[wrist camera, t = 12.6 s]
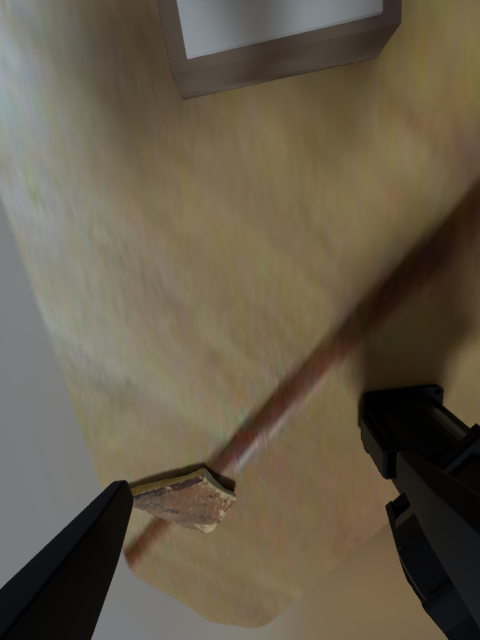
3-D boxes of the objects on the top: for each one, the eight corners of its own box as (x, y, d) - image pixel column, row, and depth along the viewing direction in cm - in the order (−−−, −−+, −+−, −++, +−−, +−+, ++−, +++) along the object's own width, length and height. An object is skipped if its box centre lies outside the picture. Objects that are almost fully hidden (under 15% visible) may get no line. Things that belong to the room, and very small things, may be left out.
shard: (120, 487, 27) (112, 504, 25) (145, 437, 25) (137, 451, 23) (211, 522, 28) (208, 540, 27) (242, 477, 26) (241, 494, 24)
